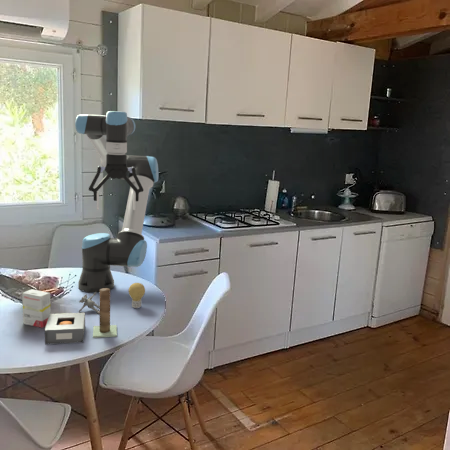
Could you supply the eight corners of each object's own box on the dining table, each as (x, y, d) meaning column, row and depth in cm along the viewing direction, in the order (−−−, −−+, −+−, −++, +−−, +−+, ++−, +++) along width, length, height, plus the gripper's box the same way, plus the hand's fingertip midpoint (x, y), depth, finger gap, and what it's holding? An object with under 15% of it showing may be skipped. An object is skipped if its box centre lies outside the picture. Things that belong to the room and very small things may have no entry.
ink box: (52, 323, 175) (51, 292, 173) (42, 328, 171) (41, 296, 168) (32, 318, 178) (31, 288, 175) (22, 323, 173) (21, 292, 171)
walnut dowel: (99, 328, 172) (99, 288, 168) (110, 328, 173) (110, 288, 169) (99, 332, 168) (99, 292, 165) (110, 332, 169) (110, 291, 166)
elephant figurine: (89, 318, 181) (71, 305, 184) (93, 324, 186) (76, 311, 189) (107, 297, 185) (89, 285, 188) (110, 303, 190) (93, 291, 193)
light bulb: (141, 311, 190) (141, 287, 187) (125, 309, 191) (126, 285, 189) (147, 305, 196) (147, 281, 193) (132, 303, 197) (132, 279, 195)
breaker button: (60, 329, 168) (60, 321, 168) (72, 328, 169) (72, 320, 169) (59, 334, 165) (59, 326, 164) (71, 333, 166) (71, 325, 165)
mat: (93, 327, 174) (93, 326, 173) (116, 326, 175) (116, 324, 175) (92, 337, 166) (92, 336, 166) (116, 336, 168) (116, 334, 168)
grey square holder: (49, 327, 172) (49, 313, 171) (85, 325, 175) (84, 312, 174) (45, 344, 160) (44, 330, 158) (83, 342, 162) (83, 328, 161)
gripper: (81, 153, 175) (81, 211, 180) (151, 155, 181) (149, 211, 186) (82, 151, 182) (82, 207, 187) (149, 153, 188) (148, 207, 193)
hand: (116, 209), depth 186 cm, fingers open, 13 cm apart
